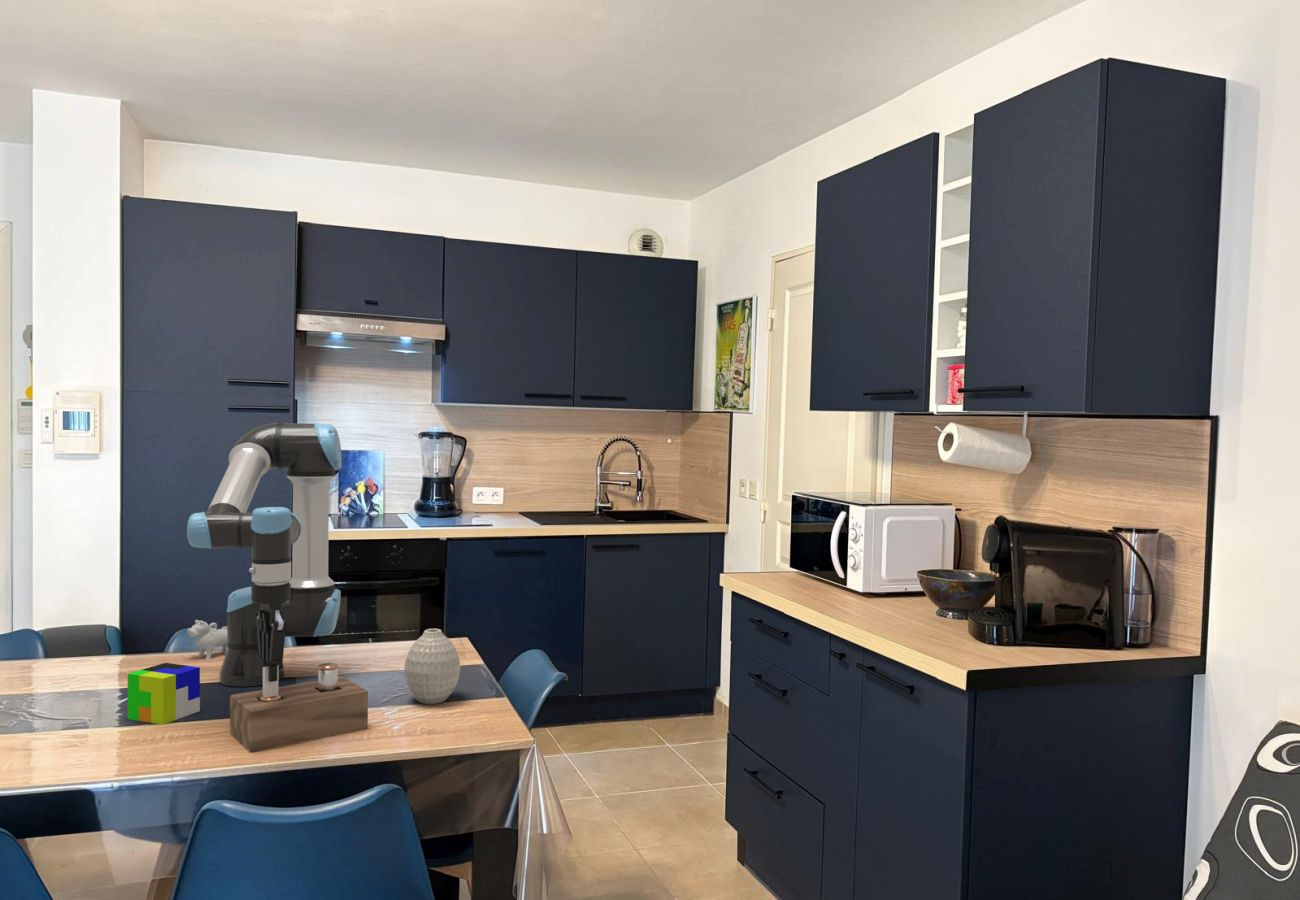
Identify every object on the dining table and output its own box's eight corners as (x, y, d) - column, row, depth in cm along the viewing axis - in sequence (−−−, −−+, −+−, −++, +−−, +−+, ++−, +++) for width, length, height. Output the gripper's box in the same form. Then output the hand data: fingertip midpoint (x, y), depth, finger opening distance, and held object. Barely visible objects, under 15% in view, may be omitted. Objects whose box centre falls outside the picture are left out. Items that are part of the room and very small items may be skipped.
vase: (470, 697, 222) (471, 627, 221) (437, 711, 210) (437, 638, 209) (427, 689, 227) (428, 622, 226) (392, 703, 215) (393, 632, 215)
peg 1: (257, 731, 192) (257, 696, 192) (277, 728, 195) (277, 692, 194) (263, 737, 189) (263, 700, 189) (283, 733, 192) (283, 697, 191)
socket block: (230, 733, 193) (230, 695, 193) (342, 711, 209) (342, 676, 209) (250, 752, 183) (250, 712, 182) (367, 728, 198) (367, 691, 198)
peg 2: (315, 699, 200) (315, 664, 199) (333, 696, 202) (333, 662, 202) (322, 703, 197) (322, 668, 196) (340, 700, 199) (340, 665, 199)
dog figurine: (183, 659, 251) (182, 620, 250) (227, 650, 261) (227, 613, 261) (193, 663, 248) (193, 623, 247) (238, 653, 258) (238, 615, 258)
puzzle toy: (199, 711, 208) (199, 667, 207) (163, 724, 198) (163, 678, 198) (165, 706, 211) (165, 662, 211) (127, 719, 201) (127, 673, 201)
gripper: (242, 579, 194) (242, 691, 194) (262, 588, 184) (261, 706, 184) (279, 576, 198) (278, 685, 199) (300, 585, 188) (299, 700, 189)
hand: (270, 695), depth 192 cm, fingers closed
